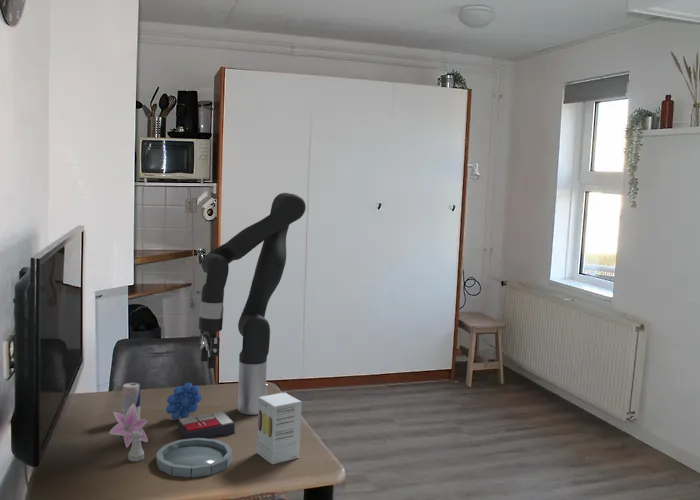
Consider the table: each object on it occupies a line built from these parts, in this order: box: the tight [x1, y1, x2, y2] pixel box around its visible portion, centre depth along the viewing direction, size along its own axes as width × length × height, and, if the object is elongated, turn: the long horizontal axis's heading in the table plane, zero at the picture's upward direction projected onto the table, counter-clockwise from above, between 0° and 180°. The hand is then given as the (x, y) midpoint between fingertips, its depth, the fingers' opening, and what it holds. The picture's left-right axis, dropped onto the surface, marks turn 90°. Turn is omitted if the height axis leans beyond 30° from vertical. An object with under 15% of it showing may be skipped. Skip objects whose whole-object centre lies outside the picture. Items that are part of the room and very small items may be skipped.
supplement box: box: [255, 391, 303, 465], centre depth 191 cm, size 10×9×17 cm
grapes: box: [165, 382, 203, 420], centre depth 216 cm, size 12×7×12 cm, turn 120°
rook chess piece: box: [127, 429, 146, 463], centre depth 184 cm, size 4×4×8 cm
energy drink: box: [121, 382, 141, 419], centre depth 211 cm, size 5×5×12 cm
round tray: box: [156, 438, 234, 478], centre depth 185 cm, size 20×20×2 cm
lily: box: [109, 404, 149, 448], centre depth 196 cm, size 12×12×10 cm
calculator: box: [177, 411, 236, 439], centre depth 207 cm, size 11×4×15 cm
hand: (207, 364), depth 217 cm, fingers open, 8 cm apart
